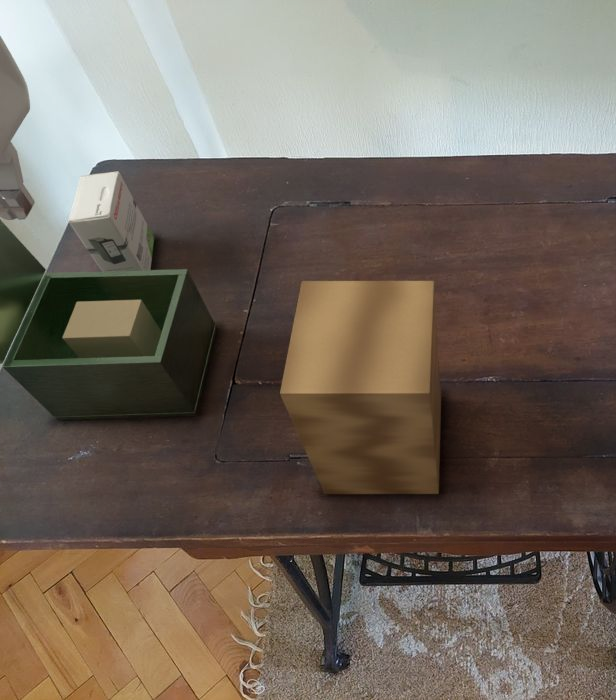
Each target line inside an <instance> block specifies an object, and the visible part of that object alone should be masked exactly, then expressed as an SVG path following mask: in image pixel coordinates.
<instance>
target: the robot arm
mask: <svg viewBox="0 0 616 700" xmlns="http://www.w3.org/2000/svg"><path fill="white" fill-rule="evenodd" d="M29 93H30V92H29V88H28V85H27V81H26V79H25V77H24V75H23V73H22V71H21V69H20V67H19V66H18V64H17V62H16V60H15V58H14V57H13V55H12V53H11V51H10V49H9V48H8V46H7V44H6V42H5V41H4V40H3V37H2V36H1V35H0V218H2V219H3V220H6V221H13V220H17V219H18V220H19V221H21V220H26V219H27V218H28V216H29V215H30V213H31V211H32V209H33V207H34V205H35V199H34V198H33V196H32V195H31V193H30V192H29V190H28V189H27V187H26V186H25V185H24V177H23V172H22V168H21V163H20V162H21V161H20V158H19V153H18V150H17V149H16V147H15V146H14V144H13V142H12V140H13V138H14V137H15V135H16V133H17V132H18V130H19V128H20V127H21V125H22V123H23V122H24V120H25V118H26V117H27V116H28V114H29V112H30V110H31V100H30V94H29Z"/></svg>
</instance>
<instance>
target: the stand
mask: <svg viewBox="0 0 616 700" xmlns="http://www.w3.org/2000/svg"><path fill="white" fill-rule="evenodd" d="M297 298H298V299H297V303H296V309H295V314H294V319H293V324H292V328H291V329H292V330H291V334H290V340H289V344H288V350H287V356H286V360H285V365H284V369H283V370H284V371H283V376H282V380H281V385H280V391H279V394H280V395H279V396H280V397H281V399H282V402H283V404H284V406H285V408H286V411H287V412H288V415H289V417H290V419H291V422H292V424H293V426H294V429H295V431H296V433H297V436H298V438H299V440H300V442H301V445H302V447H303V449H304V451H305V453H306V456H307V458H308V460H309V463H310V465H311V467H312V469H313V471H314V473H315V476H316V478H317V481H318V483H319V485H320V487H321V489H322V492H323V494H324V495H439V493H440V463H441V462H440V457H441V420H442V419H441V418H442V388H441V387H442V386H441V373H440V371H441V370H440V356H439V340H438V324H437V323H438V322H437V307H436V290H435V281H434V280H302V281H301V283H300V288H299V293H298V297H297Z"/></svg>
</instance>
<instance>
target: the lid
mask: <svg viewBox="0 0 616 700" xmlns="http://www.w3.org/2000/svg"><path fill="white" fill-rule="evenodd" d="M46 271H47V268H46V267H45V266H43V265H42V264H41V262H40V261H39V260H38V259H37V258H36V257H35V256H34V254H32V252H31V251H30V250H29V249H28V248H27V247H26V246H25V245H24V244H23V243H22V242H21V240H20V239H19V238H18V237H17V236H16V235H15V234H14V233H13V232H12V231H11V229H10V228H9V227H8V225H6V223H4V222H3V221H2V219H0V365H3V364H4V362H5V359H6V357H7V355H8V353H9V351H10V349H11V346H12V344H13V342H14V340H15V338H16V336H17V333H18V331H19V329H20V327H21V325H22V323H23V320H24V318H25V316H26V314H27V312H28V310H29V307H30V305H31V303H32V301H33V299H34V297H35V294H36V292H37V290H38V288H39V286H40V283H41V281H42V279H43V277H44V275H45V273H46Z"/></svg>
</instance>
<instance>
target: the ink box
mask: <svg viewBox="0 0 616 700" xmlns="http://www.w3.org/2000/svg"><path fill="white" fill-rule="evenodd" d="M78 179H79V180H78V183H77V186H76V192H75V194H74V199H73V203H72V206H71V209H70V213H69V217H68V221H67V222H68V224H69V225H70V227H71V228H72V229H73V231H74V233H75V234H76V236H77V237H78V239H79V240H80V241H81V243H82V244H83V246H84V247H85V249H86V250H87V252H88V253H89V255H90V256H91V258H92V260H93V261H94V262H95V264H96V265H97V267H98V268H99V269H100V272H101V271H138V270H152V261H153V253H154V245H155V236H154V234H153V233H152V231H151V229H150V227H149V225H148V223H147V221H146V219H145V217H144V216H143V213H142V212H141V210H140V208H139V206H138V205H137V202H136V201H135V199H134V197H133V195H132V192H131V191H130V189H129V187H128V186H127V184H126V182H125V179H124V178H123V176H122V174H121V172H120V171H119V170H118V171H117V170H116V171H109V172H101V173H92V174H85V175H80V176H79V178H78Z"/></svg>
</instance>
